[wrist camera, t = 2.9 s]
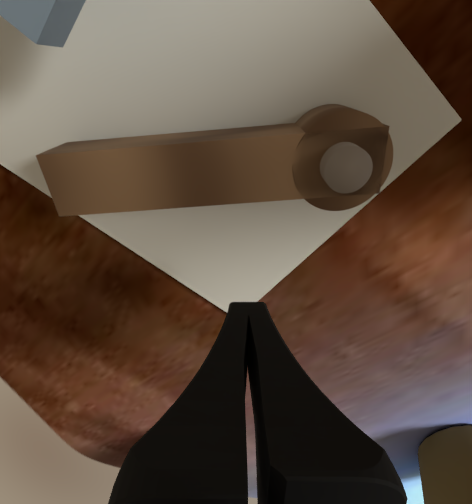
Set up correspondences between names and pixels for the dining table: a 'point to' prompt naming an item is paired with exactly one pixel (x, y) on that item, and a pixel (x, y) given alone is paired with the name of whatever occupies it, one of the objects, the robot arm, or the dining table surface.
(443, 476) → the squeeze bottle
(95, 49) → the keeper board
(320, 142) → the link arm
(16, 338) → the dining table surface
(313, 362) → the dining table surface
